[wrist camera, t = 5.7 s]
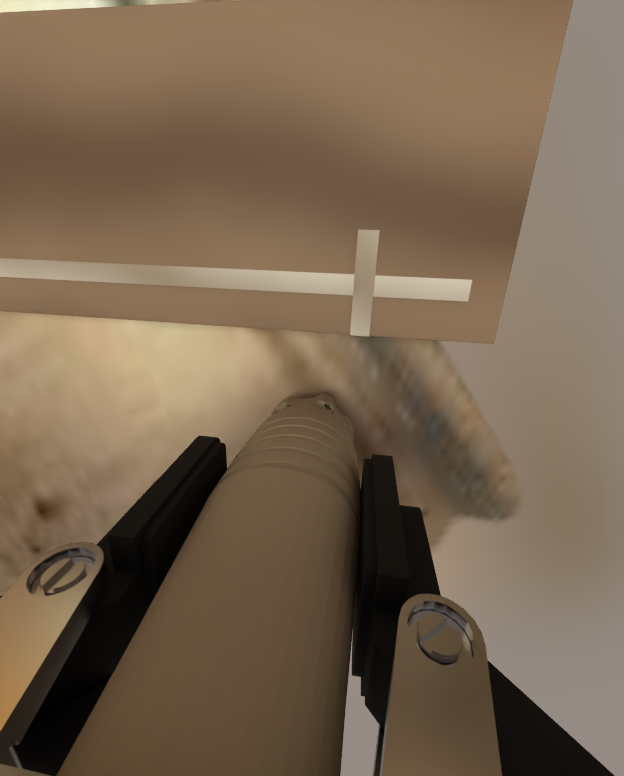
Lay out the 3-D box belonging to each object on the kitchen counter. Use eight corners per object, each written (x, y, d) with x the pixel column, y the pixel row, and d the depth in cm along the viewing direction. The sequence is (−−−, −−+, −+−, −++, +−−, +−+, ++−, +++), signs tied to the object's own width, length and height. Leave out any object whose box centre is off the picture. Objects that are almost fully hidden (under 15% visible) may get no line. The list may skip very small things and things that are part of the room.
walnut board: (470, 328, 13) (495, 345, 10) (-47, 295, 15) (-125, 303, 13) (527, 47, 10) (580, -22, 7) (-122, 68, 12) (-240, 22, 10)
